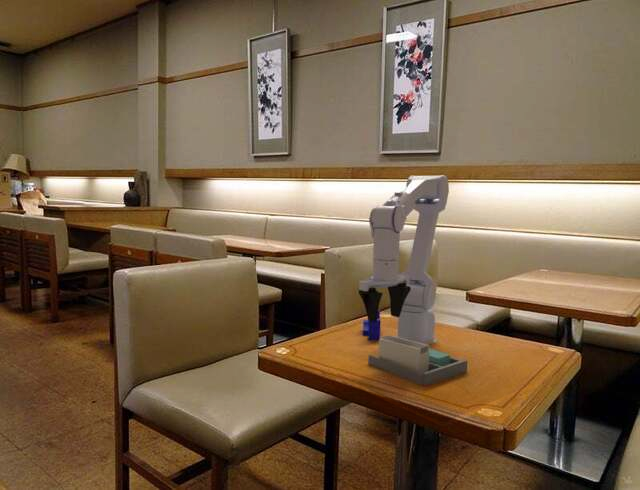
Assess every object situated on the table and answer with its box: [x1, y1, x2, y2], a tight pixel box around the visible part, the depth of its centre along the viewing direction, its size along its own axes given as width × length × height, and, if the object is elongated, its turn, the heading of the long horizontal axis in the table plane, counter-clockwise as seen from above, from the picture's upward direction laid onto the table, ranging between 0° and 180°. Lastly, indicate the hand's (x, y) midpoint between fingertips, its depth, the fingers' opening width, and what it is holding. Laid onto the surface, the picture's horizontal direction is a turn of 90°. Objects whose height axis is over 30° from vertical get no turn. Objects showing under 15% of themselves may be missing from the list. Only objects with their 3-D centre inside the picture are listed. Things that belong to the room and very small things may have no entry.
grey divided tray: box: [367, 354, 468, 387], centre depth 104 cm, size 14×16×3 cm
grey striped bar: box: [378, 335, 430, 373], centre depth 103 cm, size 4×10×6 cm, turn 46°
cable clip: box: [362, 309, 382, 341], centre depth 130 cm, size 12×4×6 cm, turn 174°
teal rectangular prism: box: [429, 348, 451, 367], centre depth 106 cm, size 4×10×3 cm, turn 39°
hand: (384, 318), depth 109 cm, fingers open, 7 cm apart
